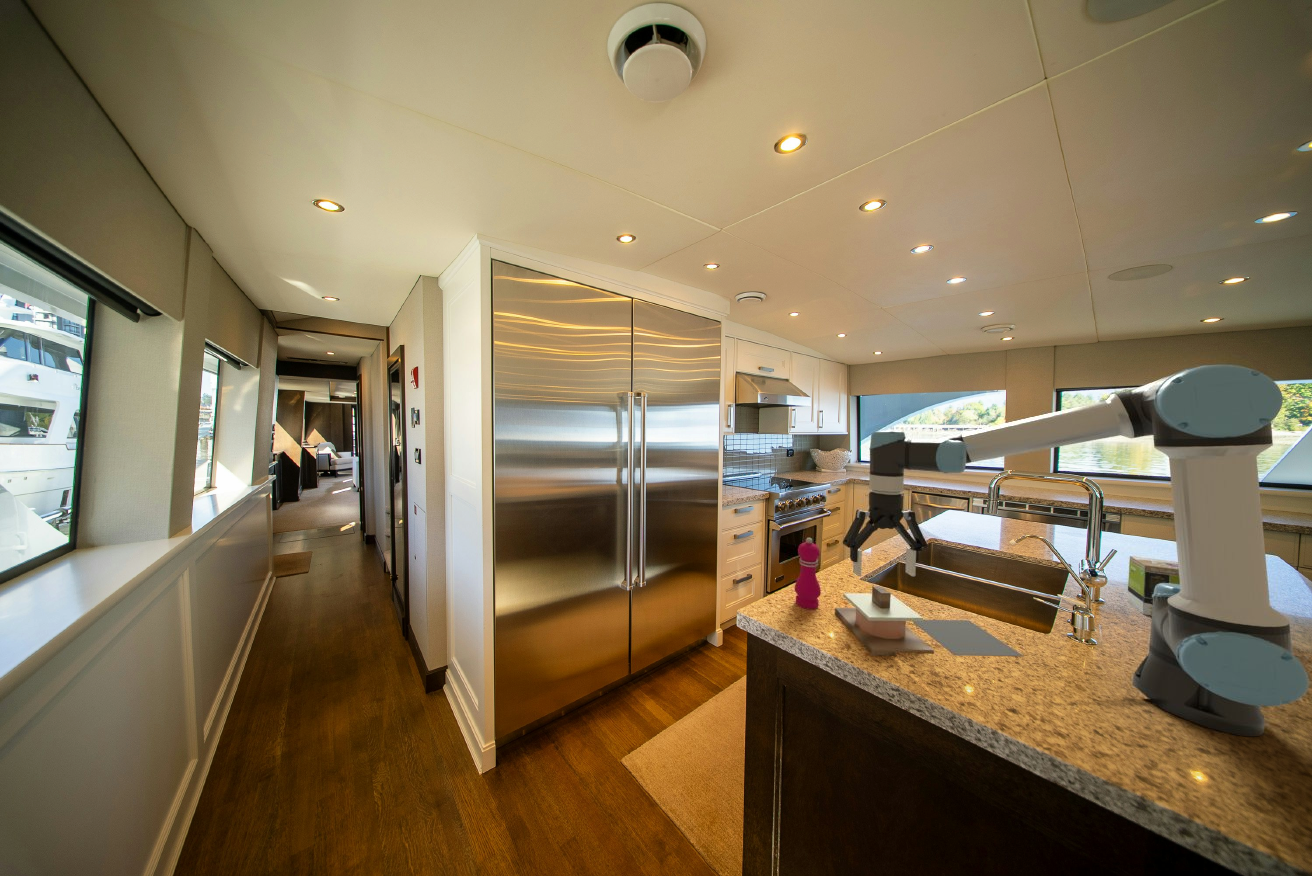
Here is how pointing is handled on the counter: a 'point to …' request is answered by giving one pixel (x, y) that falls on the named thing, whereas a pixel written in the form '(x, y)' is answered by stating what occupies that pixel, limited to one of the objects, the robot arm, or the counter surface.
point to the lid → (881, 606)
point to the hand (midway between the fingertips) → (883, 574)
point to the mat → (965, 638)
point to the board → (882, 644)
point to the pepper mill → (808, 576)
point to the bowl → (881, 627)
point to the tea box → (1148, 580)
